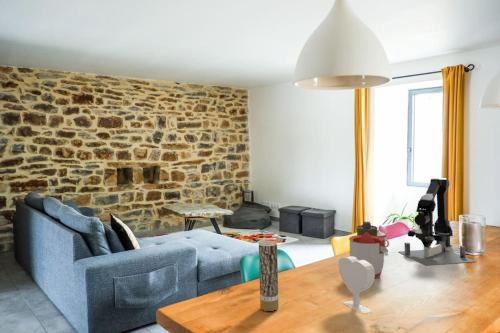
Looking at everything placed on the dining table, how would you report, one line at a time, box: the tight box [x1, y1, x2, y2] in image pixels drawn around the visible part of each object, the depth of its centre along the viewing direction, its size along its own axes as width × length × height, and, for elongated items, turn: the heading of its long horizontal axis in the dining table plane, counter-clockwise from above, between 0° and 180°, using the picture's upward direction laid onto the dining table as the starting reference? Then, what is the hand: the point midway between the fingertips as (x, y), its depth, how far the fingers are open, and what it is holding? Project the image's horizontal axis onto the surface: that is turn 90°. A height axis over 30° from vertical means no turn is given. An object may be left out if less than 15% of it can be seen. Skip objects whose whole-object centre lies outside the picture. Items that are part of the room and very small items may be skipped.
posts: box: [404, 241, 466, 258], centre depth 211 cm, size 26×14×6 cm, turn 99°
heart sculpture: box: [337, 255, 376, 314], centre depth 149 cm, size 16×5×18 cm, turn 28°
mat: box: [398, 248, 477, 267], centre depth 211 cm, size 27×26×1 cm
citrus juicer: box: [348, 232, 389, 279], centre depth 183 cm, size 16×17×20 cm
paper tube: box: [258, 239, 279, 312], centre depth 149 cm, size 7×7×25 cm
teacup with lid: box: [377, 228, 390, 248], centre depth 226 cm, size 12×9×12 cm
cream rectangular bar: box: [423, 242, 443, 258], centre depth 212 cm, size 18×2×5 cm, turn 128°
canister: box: [356, 221, 378, 236], centre depth 208 cm, size 11×10×20 cm
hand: (426, 251), depth 212 cm, fingers closed
